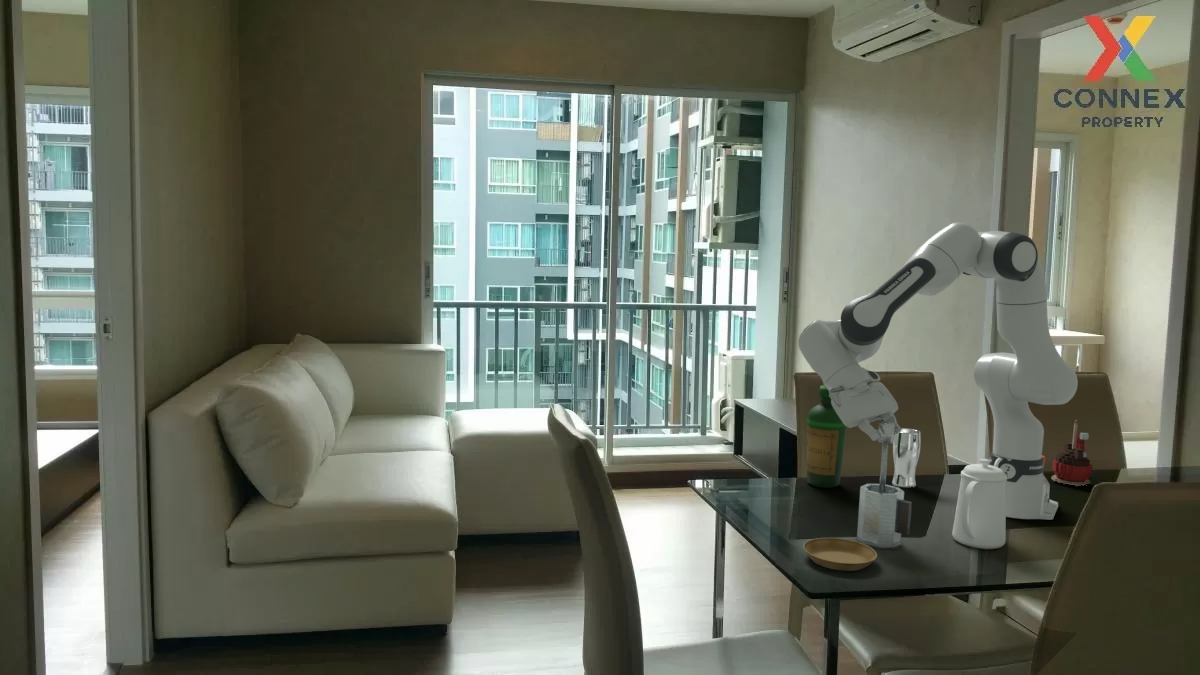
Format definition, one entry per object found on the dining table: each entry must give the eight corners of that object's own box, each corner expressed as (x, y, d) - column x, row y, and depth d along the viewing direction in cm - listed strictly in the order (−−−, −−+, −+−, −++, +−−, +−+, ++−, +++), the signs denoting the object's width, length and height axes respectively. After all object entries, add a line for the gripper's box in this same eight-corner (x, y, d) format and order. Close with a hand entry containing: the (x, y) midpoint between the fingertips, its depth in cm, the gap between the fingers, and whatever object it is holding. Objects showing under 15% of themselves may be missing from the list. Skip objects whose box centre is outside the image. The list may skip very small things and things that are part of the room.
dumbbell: (875, 494, 198) (880, 420, 196) (898, 500, 195) (904, 424, 193) (864, 499, 194) (869, 423, 192) (887, 505, 191) (893, 427, 189)
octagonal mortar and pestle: (868, 532, 202) (872, 480, 201) (916, 545, 195) (920, 491, 193) (849, 541, 195) (852, 488, 194) (897, 555, 188) (901, 499, 187)
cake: (1046, 477, 257) (1051, 415, 255) (1080, 479, 255) (1086, 417, 253) (1059, 487, 246) (1065, 423, 244) (1095, 489, 245) (1102, 425, 243)
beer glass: (895, 479, 248) (898, 426, 247) (920, 484, 244) (924, 430, 243) (886, 485, 243) (890, 430, 241) (912, 489, 239) (916, 434, 237)
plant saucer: (891, 571, 179) (892, 559, 179) (829, 578, 174) (829, 566, 174) (848, 546, 193) (848, 535, 193) (788, 552, 188) (789, 540, 188)
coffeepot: (1020, 533, 205) (1027, 453, 203) (987, 562, 186) (994, 474, 183) (971, 523, 212) (977, 445, 209) (934, 549, 192) (941, 464, 190)
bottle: (794, 480, 244) (800, 379, 241) (826, 477, 248) (833, 378, 245) (819, 491, 234) (825, 386, 231) (851, 488, 239) (858, 384, 235)
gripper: (836, 380, 189) (876, 434, 183) (880, 372, 204) (918, 421, 198) (815, 398, 192) (854, 451, 187) (860, 388, 207) (898, 437, 202)
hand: (888, 435), depth 193 cm, fingers open, 8 cm apart
